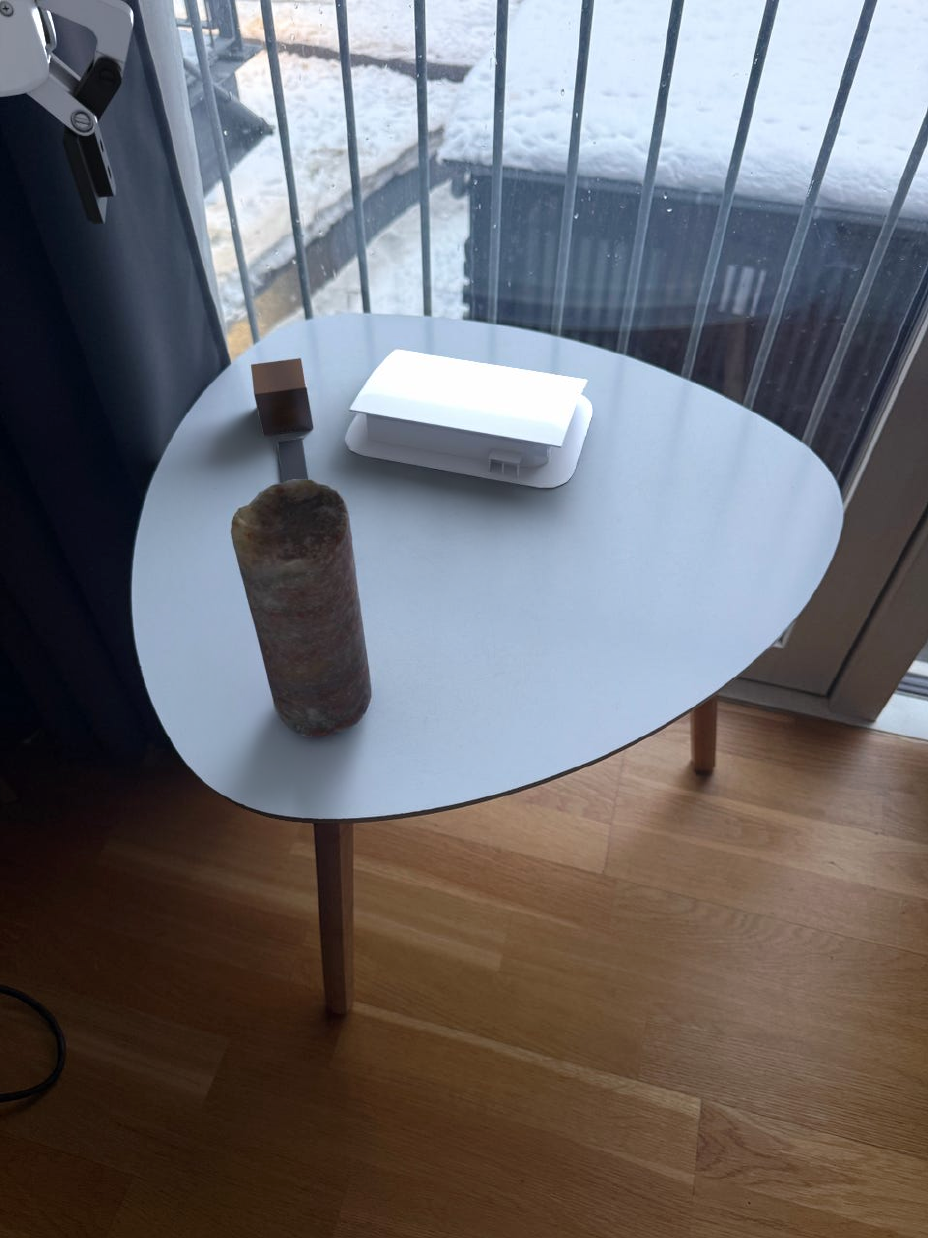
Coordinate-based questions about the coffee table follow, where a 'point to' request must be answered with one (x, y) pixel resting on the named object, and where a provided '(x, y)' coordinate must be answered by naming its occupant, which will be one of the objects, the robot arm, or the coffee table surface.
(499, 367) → the white flat lidded device
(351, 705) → the brown weathered cylinder
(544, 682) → the coffee table surface
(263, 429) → the walnut block
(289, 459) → the strip
